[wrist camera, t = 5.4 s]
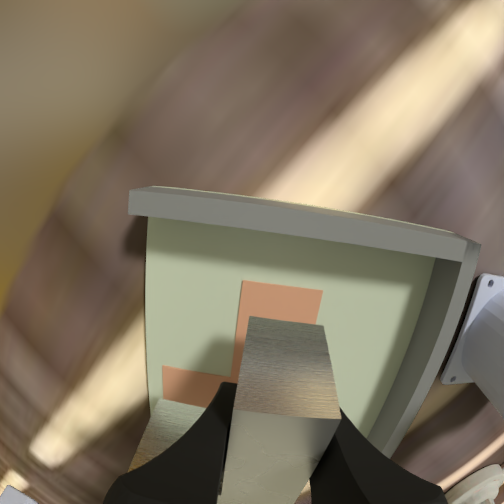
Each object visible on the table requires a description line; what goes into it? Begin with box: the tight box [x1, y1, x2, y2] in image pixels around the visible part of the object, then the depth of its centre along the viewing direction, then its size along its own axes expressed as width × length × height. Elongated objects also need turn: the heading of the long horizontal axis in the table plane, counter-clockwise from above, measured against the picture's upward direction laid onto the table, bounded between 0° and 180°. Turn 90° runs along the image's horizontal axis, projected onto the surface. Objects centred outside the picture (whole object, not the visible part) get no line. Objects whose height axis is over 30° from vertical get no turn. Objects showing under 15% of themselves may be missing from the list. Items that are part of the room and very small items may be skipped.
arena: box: [128, 186, 481, 459], centre depth 15 cm, size 16×16×3 cm
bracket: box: [127, 316, 341, 504], centre depth 12 cm, size 9×7×5 cm
